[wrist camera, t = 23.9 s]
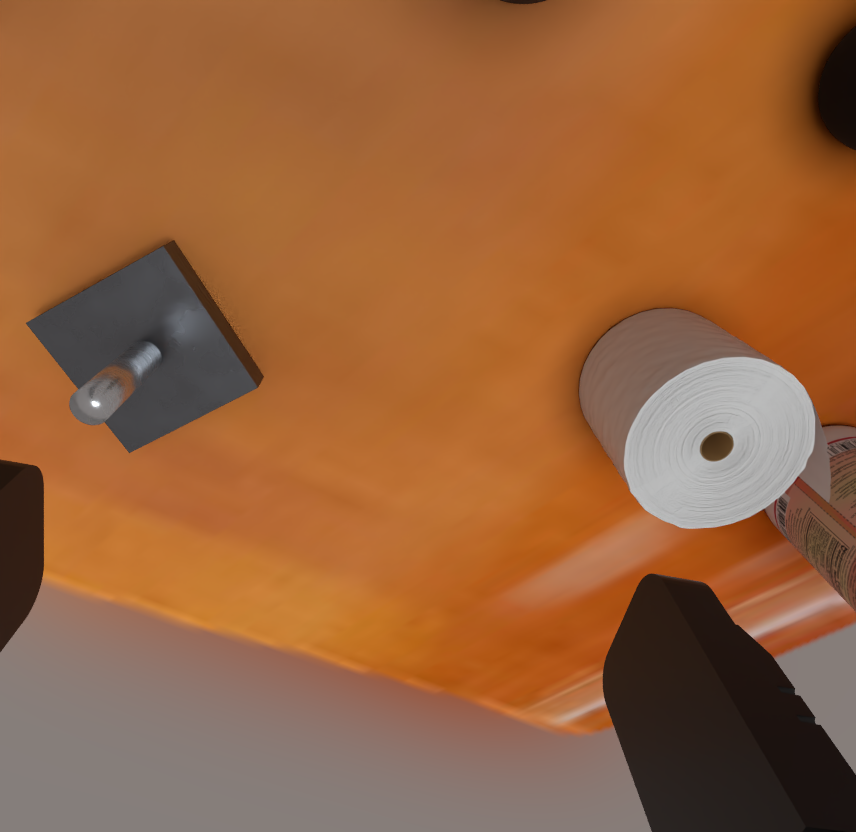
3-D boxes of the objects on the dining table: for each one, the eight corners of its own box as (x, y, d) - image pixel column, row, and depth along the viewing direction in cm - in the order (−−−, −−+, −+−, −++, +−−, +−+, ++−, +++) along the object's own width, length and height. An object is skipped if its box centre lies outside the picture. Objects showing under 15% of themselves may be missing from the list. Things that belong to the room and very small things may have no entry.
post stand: (42, 314, 41) (-59, 368, 32) (174, 240, 40) (107, 275, 31) (140, 439, 45) (74, 519, 36) (263, 376, 44) (228, 443, 34)
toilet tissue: (574, 318, 43) (622, 371, 34) (756, 292, 43) (853, 338, 34) (580, 460, 47) (623, 541, 38) (745, 437, 47) (828, 513, 38)
